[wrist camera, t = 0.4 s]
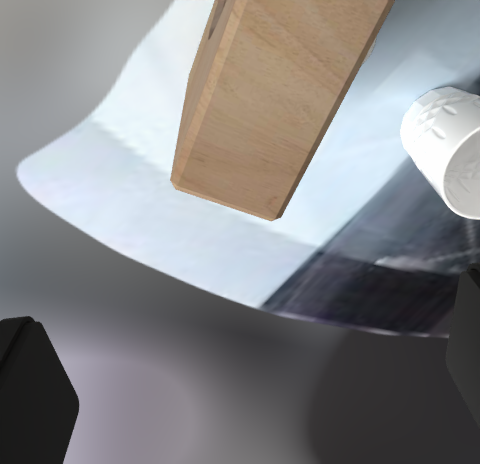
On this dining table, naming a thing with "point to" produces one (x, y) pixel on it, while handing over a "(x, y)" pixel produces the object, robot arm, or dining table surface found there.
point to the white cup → (447, 145)
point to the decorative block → (267, 96)
